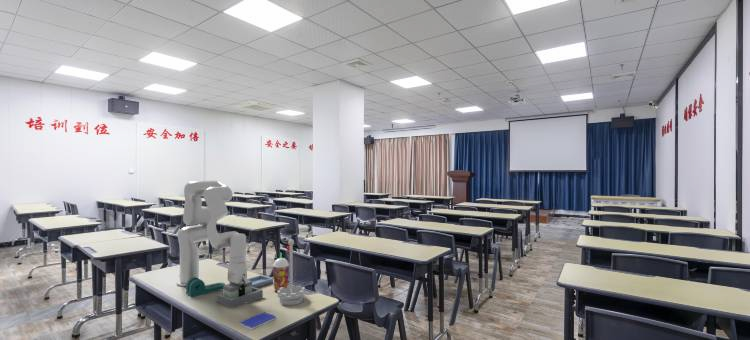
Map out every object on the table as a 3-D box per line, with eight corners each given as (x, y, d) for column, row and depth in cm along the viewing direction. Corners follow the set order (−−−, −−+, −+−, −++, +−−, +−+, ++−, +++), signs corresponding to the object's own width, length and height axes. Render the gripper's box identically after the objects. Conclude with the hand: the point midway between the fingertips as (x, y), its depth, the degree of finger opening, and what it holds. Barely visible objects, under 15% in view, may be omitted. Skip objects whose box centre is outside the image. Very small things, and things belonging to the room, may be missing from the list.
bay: (216, 301, 169) (216, 294, 169) (247, 291, 183) (247, 285, 183) (231, 308, 162) (231, 300, 162) (262, 297, 176) (262, 290, 176)
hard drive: (264, 311, 156) (239, 321, 145) (276, 316, 151) (251, 326, 141) (264, 315, 156) (239, 325, 145) (276, 319, 151) (251, 330, 141)
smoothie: (271, 289, 187) (271, 251, 187) (287, 287, 191) (287, 250, 190) (273, 294, 180) (273, 255, 179) (290, 292, 183) (290, 253, 183)
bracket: (190, 297, 176) (190, 281, 176) (186, 294, 181) (186, 278, 181) (226, 288, 188) (226, 274, 188) (222, 285, 193) (222, 271, 193)
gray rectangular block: (223, 299, 171) (223, 285, 171) (244, 292, 180) (244, 279, 180) (230, 302, 167) (230, 288, 167) (252, 295, 177) (252, 281, 177)
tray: (234, 287, 190) (234, 282, 190) (261, 279, 204) (261, 274, 204) (246, 291, 184) (246, 286, 184) (273, 282, 197) (273, 278, 197)
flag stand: (310, 300, 171) (310, 239, 171) (286, 308, 162) (286, 243, 162) (295, 293, 181) (295, 235, 180) (272, 300, 172) (272, 239, 171)
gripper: (221, 257, 175) (220, 293, 176) (241, 263, 165) (241, 301, 166) (234, 254, 182) (234, 289, 182) (255, 260, 171) (254, 296, 172)
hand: (237, 294), depth 174 cm, fingers closed on gray rectangular block, 6 cm apart
